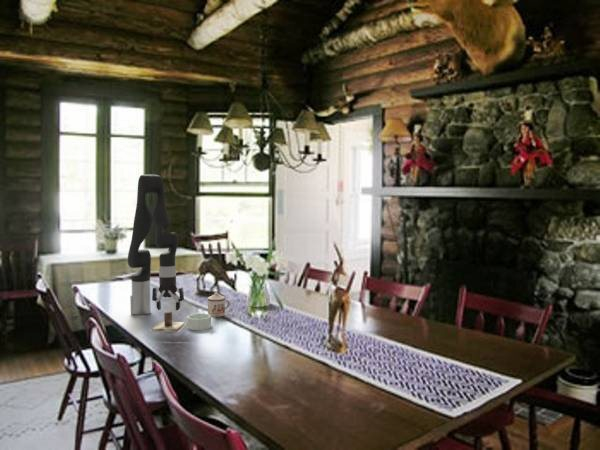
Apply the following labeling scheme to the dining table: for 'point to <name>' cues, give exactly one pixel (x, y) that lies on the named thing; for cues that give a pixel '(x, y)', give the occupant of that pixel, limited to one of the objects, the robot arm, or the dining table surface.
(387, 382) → the dining table surface
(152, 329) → the cover
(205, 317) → the bowl
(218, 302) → the teacup with lid
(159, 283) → the robot arm
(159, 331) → the mat
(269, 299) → the glass flower vase
